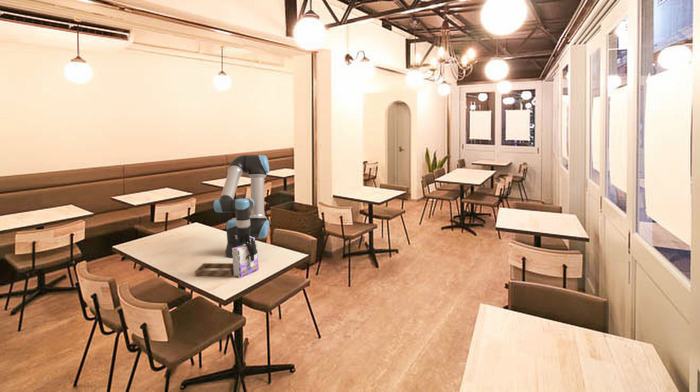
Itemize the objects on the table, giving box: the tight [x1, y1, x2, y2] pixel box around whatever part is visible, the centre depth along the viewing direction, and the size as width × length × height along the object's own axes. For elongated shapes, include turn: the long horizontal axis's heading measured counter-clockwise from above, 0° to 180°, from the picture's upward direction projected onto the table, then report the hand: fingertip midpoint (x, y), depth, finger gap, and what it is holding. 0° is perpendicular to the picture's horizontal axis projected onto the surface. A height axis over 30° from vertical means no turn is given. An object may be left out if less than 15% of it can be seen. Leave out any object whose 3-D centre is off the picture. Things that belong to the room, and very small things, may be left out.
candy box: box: [231, 242, 259, 279], centre depth 225 cm, size 14×6×16 cm, turn 145°
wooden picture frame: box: [194, 262, 234, 278], centre depth 227 cm, size 20×12×3 cm, turn 88°
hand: (245, 265), depth 225 cm, fingers open, 7 cm apart
